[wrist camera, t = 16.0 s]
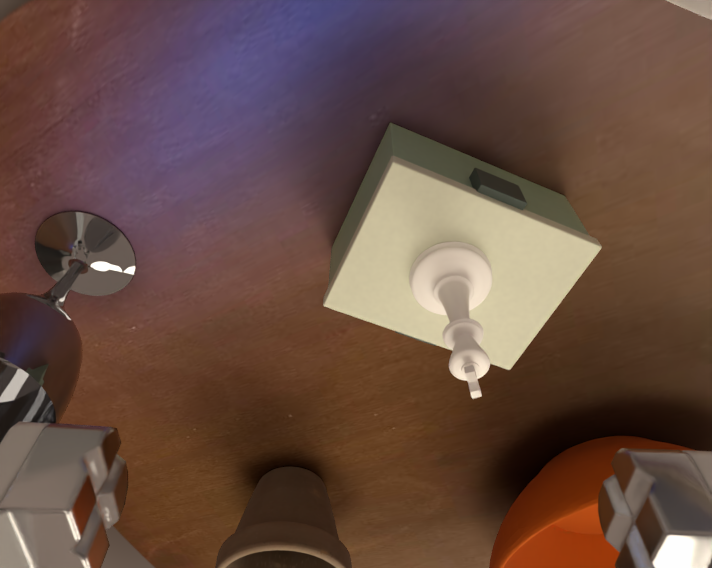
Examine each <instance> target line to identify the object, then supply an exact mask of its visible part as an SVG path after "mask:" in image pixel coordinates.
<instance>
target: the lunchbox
mask: <svg viewBox="0 0 712 568" xmlns="http://www.w3.org/2000/svg"><path fill="white" fill-rule="evenodd" d="M453 241H455V242H464V243H468V244H470V245H473V246H475V247H476V248H478V249H480V250H481V251H482V252H483V253H484V254H485V255H486V257H487V258H488V260H489V262H490V264H491V268H492V285H491V289H490V291H489V293H488V295H487V297H486V298H485V299H484V300H483V301H482V302H481V303H480V304H479V305H478V306H477V307H475V308H474V309H472V310H470V311H469V316H470V319H473V320H475V321H477V322H478V323H479V324H480V325H481V326H482V328H483V332H484V333H483V339H482V341H481V343H480V344H479V346H480V347H481V348H482V349H483V350H484V351H485V352H486V354H487V355H488V357H489V359H490V364H493V365H496V366H499V367H502V368H504V369H507V370H510V369H511V368H512V367H513V365H514V364H515V363H516V361H517V360H518V359H519V357H520V356H521V355H522V353H523V352H524V351H525V349H526V348H527V347H528V345H529V344H530V343H531V341H532V340H533V339H534V337H535V336H536V335H537V333H538V332H539V331H540V329H541V328H542V327H543V325H544V324H545V323H546V321H547V320H548V319H549V317H550V316H551V315H552V313H553V312H554V311H555V309H556V308H557V307H558V305H559V304H560V303H561V301H562V300H563V299H564V297H565V296H566V295H567V293H568V292H569V291H570V289H571V288H572V287H573V285H574V284H575V283H576V281H577V280H578V279H579V277H580V276H581V275H582V273H583V272H584V271H585V269H586V268H587V267H588V265H589V264H590V263H591V261H592V260H593V259H594V257H595V256H596V255H597V253H598V252H599V251H600V249H601V248H602V246H601V245H600V243H599V241H598V240H597V239H596V238H593V237H591V236H589V234H588V232H587V231H586V229H585V228H584V226H583V224H582V223H581V221H580V219H579V218H578V216H577V215H576V213H575V211H574V210H573V208H572V207H571V205H570V203H569V202H568V200H567V199H566V197H565V196H564V195H561V194H559V193H557V192H554V191H552V190H550V189H547V188H545V187H542V186H540V185H538V184H535V183H533V182H531V181H528V180H526V179H523V178H521V177H519V176H516V175H514V174H512V173H509V172H507V171H504V170H502V169H500V168H497V167H495V166H493V165H490V164H488V163H486V162H483V161H481V160H478V159H476V158H474V157H471V156H469V155H467V154H464V153H462V152H459V151H457V150H455V149H452V148H450V147H448V146H445V145H443V144H440V143H438V142H436V141H433V140H431V139H429V138H426V137H424V136H421V135H419V134H417V133H414V132H412V131H410V130H407V129H405V128H403V127H400V126H398V125H395V124H393V123H389V125H388V128H387V130H386V132H385V134H384V136H383V138H382V140H381V143H380V145H379V147H378V149H377V151H376V153H375V156H374V158H373V160H372V162H371V164H370V166H369V168H368V171H367V173H366V175H365V177H364V179H363V181H362V184H361V186H360V188H359V190H358V192H357V194H356V196H355V199H354V201H353V203H352V205H351V207H350V209H349V211H348V214H347V216H346V218H345V220H344V222H343V224H342V227H341V229H340V231H339V233H338V235H337V237H336V239H335V242H334V244H333V246H332V250H331V262H330V274H329V286H328V289H327V291H326V293H325V295H324V300H323V306H324V307H327V308H330V309H333V310H336V311H339V312H342V313H345V314H348V315H351V316H353V317H356V318H359V319H362V320H365V321H368V322H371V323H374V324H377V325H380V326H383V327H385V328H388V329H391V330H394V331H395V332H396V333H399V334H402V335H405V336H408V337H411V338H414V339H417V340H419V341H422V342H425V343H428V344H431V345H434V346H436V345H438V346H441V347H443V348H446V349H449V350H451V349H450V348H449V347H448V346H447V345H446V344H445V343H444V341H443V337H442V335H443V330H444V328H445V327H446V326H447V325H448V324H449V323H450V321H449V319H448V316H447V315H440V314H436V313H433V312H430V311H428V310H427V309H425V308H424V307H422V306H421V305H420V304H419V303H418V302H417V300H416V299H415V297H414V295H413V293H412V290H411V287H410V283H409V274H410V270H411V267H412V265H413V263H414V262H415V260H416V259H417V257H418V256H419V255H420V254H421V253H423V252H424V251H425V250H427V249H428V248H430V247H432V246H434V245H437V244H440V243H444V242H453ZM452 351H453V350H452Z"/></svg>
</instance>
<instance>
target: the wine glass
mask: <svg viewBox="0 0 712 568" xmlns="http://www.w3.org/2000/svg"><path fill="white" fill-rule="evenodd" d="M35 249H36V253H37V256H38V259H39V261H40V263H41V265H42V266H43V268H44V269H45V270H46V272H47V273H48V274H49V275H50V276H51V277H52V278H53V279H54V280H56V281H57V283H56V284H55V285H54V286H53V287H52V288H51V289H50V290H48V291H47V292H46V293H44V294H41V295H34V294H28V293H17V292H12V293H0V443H1V441H2V440H3V438H4V437H5V435H6V433H7V432H8V430H9V429H10V428H11V427H13V426H14V425H15V424H17V423H18V422H19V421H20V422H36V423H57V424H59V422H60V421H61V419H62V417H63V415H64V413H65V411H66V409H67V407H68V404H69V402H70V400H71V398H72V396H73V394H74V391H75V387H76V384H77V381H78V378H79V373H80V368H81V363H82V351H83V350H82V341H81V337H80V334H79V332H78V329H77V327H76V325H75V323H74V322H73V321H72V319H71V318H70V316H69V315H68V314H67V313H66V311H65V307H64V304H65V300H66V298H67V296H68V293H69V291H70V290H73V291H75V292H78V293H81V294H86V295H92V296H102V295H109V294H112V293H115V292H118V291H120V290H122V289H123V288H124V287H126V286H127V285H128V284H129V282H130V281H131V280H132V278H133V276H134V274H135V269H136V258H135V253H134V250H133V248H132V246H131V244H130V242H129V241H128V239H127V238H126V237H125V235H124V234H123V233H122V232H121V231H120V230H119V229H118V228H117V227H115V226H114V225H113V224H111V223H110V222H108V221H107V220H105V219H103V218H101V217H99V216H96V215H93V214H90V213H86V212H80V211H68V212H61V213H58V214H55V215H53V216H51V217H49V218H48V219H46V220H45V221H44V222H43V223H42V224H41V226H40V227H39V229H38V231H37V234H36V238H35Z"/></svg>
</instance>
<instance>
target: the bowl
mask: <svg viewBox="0 0 712 568" xmlns="http://www.w3.org/2000/svg"><path fill="white" fill-rule="evenodd" d="M621 448H636V449H669V450H680V451H683V450H688V451H697V450H694V449H690V448H687V447H683V446H679V445H675V444H670V443H665V442H659V441H653V440H650V439H647V438H642V437H635V436H611V437H604V438H598V439H594V440H590V441H586V442H583V443H580V444H578V445H575V446H573V447H571V448H569V449H567V450H565V451H563V452H562V453H560V454H558V455H557V456H556V457H554V458H553V459H552V460H551V461H549V462H548V463H547V464H546V465H545V466H544V467H543V468H542V470H541V471H540V472H539V474H538V475H537V476H536V477H535V478H534V479H533V480H532V481H531V482H530V483H529V484H528V485H527V486H526V487H525V489H524V490H523V491H522V492H521V493H520V494H519V496H518V497H517V499H516V500H515V502H514V503H513V504H512V506H511V508H510V509H509V511H508V513H507V514H506V516H505V518H504V520H503V522H502V524H501V526H500V529H499V532H498V534H497V537H496V540H495V543H494V546H493V550H492V555H491V559H490V567H489V568H616V567H615V562H616V560H617V557H618V555H619V551H617V550H616V549H615V548H614V547H613V546H612V545H611V544H610V543H609V542H608V541H607V540H606V539H605V537H604V534H603V531H602V528H601V525H600V520H599V515H598V495H599V492H600V489H601V486H602V484H603V481H605V480H606V479H608V478H609V477H611V476H612V475H614V474H615V472H614V470H613V468H612V465H611V462H612V460H613V457H614V455H615V453H616V452H617V451H618V450H620V449H621Z"/></svg>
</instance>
